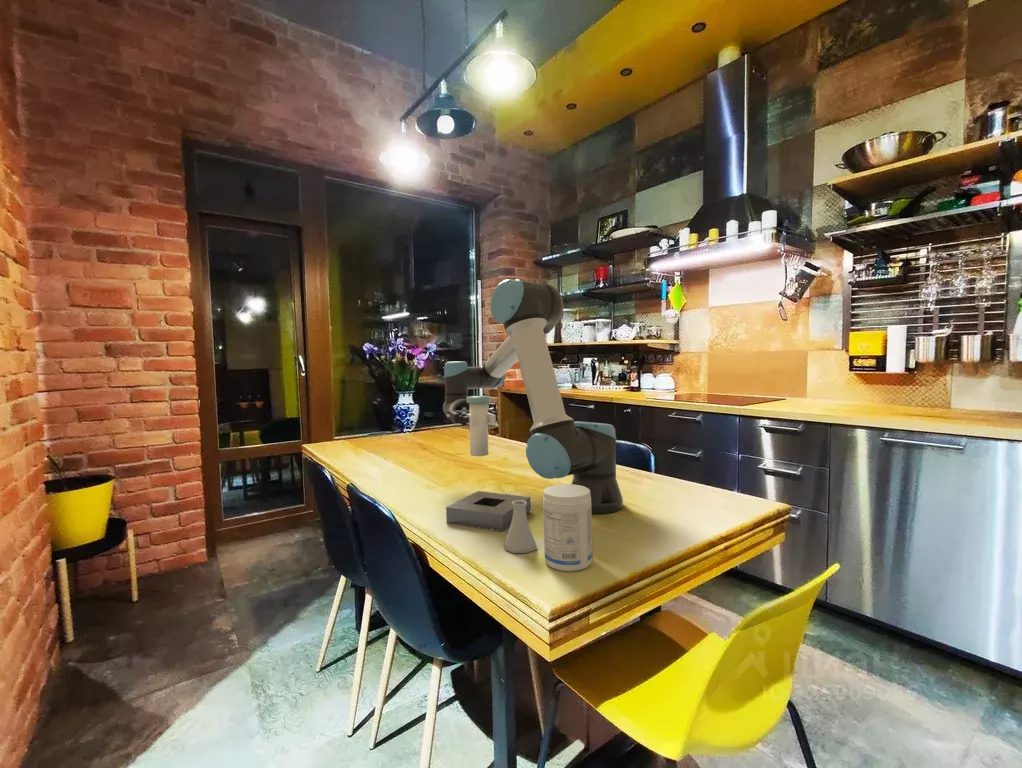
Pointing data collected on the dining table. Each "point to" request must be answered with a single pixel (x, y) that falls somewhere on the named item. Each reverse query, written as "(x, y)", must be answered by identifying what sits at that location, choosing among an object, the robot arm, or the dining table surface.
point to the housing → (485, 510)
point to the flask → (519, 531)
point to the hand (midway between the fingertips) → (483, 420)
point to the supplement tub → (567, 527)
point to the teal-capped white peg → (479, 425)
